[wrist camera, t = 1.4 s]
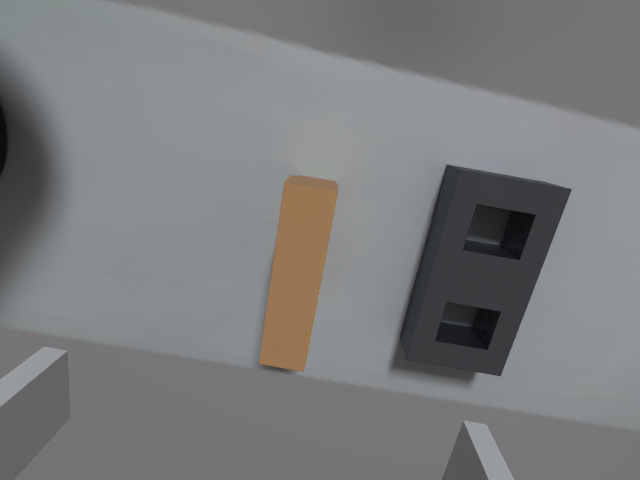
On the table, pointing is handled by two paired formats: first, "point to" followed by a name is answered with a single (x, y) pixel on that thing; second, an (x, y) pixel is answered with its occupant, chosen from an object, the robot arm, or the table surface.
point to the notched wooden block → (297, 270)
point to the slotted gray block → (479, 269)
